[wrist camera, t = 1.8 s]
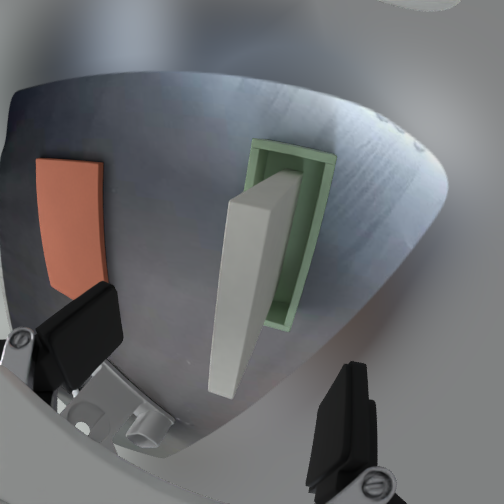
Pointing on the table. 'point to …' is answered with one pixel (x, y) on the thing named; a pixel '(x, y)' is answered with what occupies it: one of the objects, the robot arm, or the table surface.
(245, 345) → the board
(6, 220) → the table surface
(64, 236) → the mat
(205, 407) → the table surface
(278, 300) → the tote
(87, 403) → the phone holder
